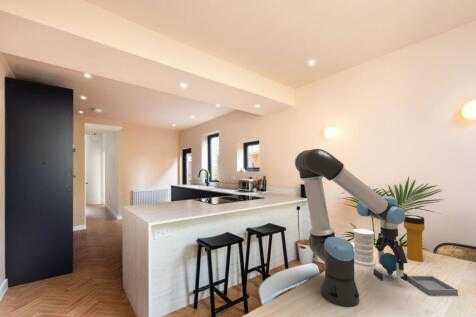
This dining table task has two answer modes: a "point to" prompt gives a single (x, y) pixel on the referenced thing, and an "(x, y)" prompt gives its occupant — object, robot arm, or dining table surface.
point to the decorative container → (363, 247)
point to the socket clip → (380, 275)
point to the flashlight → (414, 236)
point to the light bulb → (389, 263)
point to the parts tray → (432, 286)
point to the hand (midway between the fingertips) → (390, 269)
